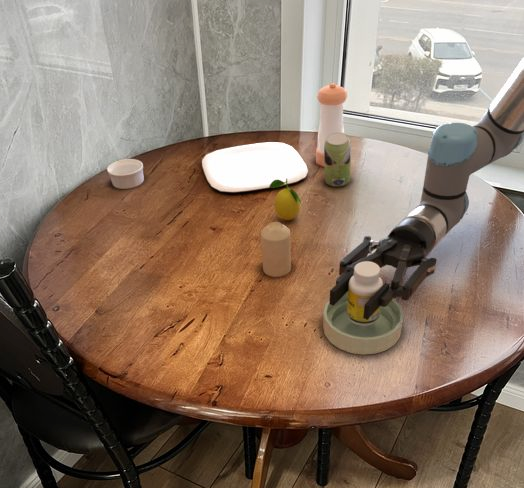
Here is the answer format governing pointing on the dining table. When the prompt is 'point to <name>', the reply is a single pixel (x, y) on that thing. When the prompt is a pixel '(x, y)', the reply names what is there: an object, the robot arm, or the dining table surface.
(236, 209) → the dining table surface
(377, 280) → the supplement bottle
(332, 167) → the beverage can
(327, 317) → the bowl
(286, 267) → the candle
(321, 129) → the pepper shaker
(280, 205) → the lemon
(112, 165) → the ramekin
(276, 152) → the plate
